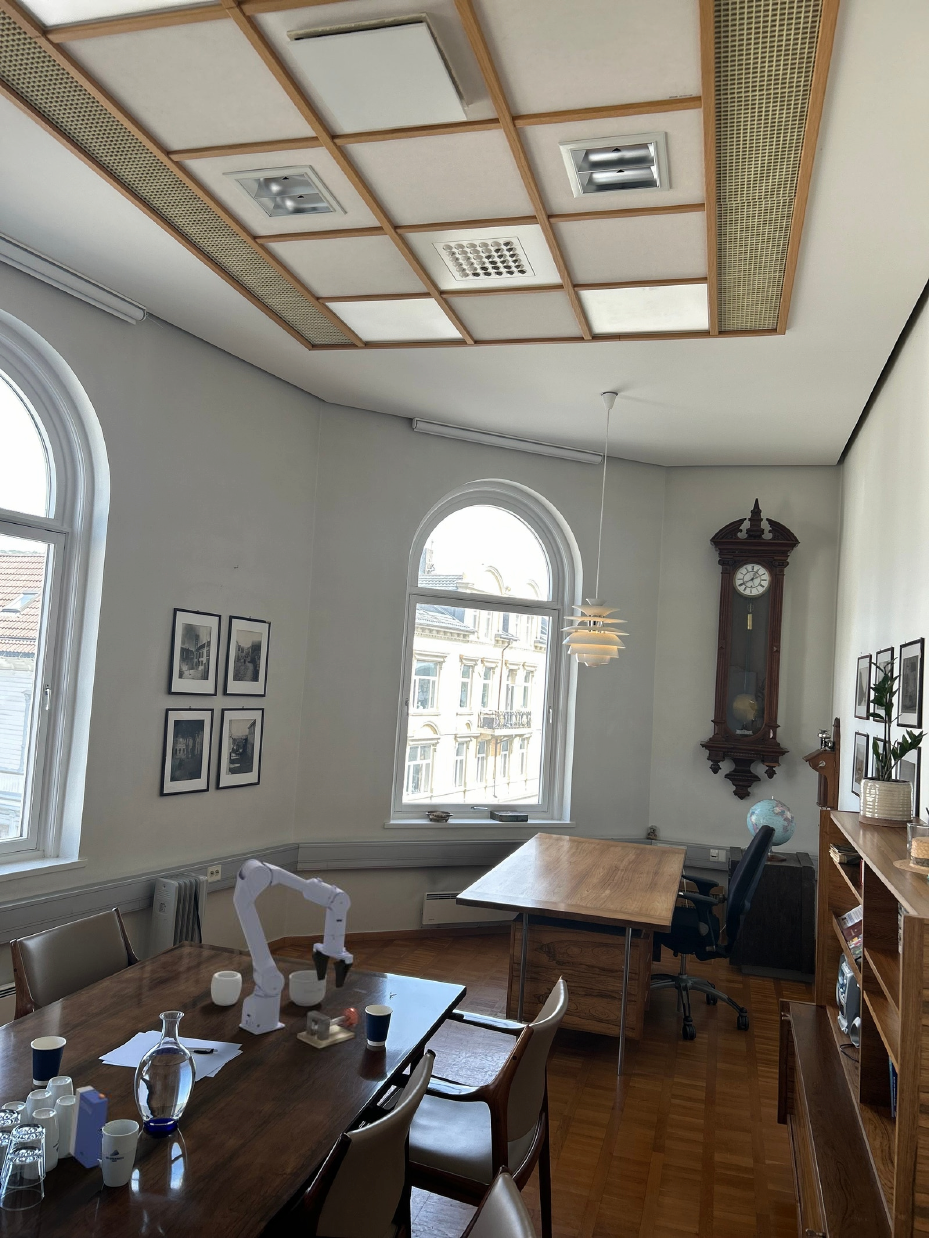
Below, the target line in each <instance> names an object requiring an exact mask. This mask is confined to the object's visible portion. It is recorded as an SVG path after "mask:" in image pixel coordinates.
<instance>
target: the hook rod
mask: <svg viewBox="0 0 929 1238" xmlns="http://www.w3.org/2000/svg"><path fill="white" fill-rule="evenodd" d="M359 1016H360V1015H359V1012H358V1011H357V1009H356V1008H355V1007H349V1008H346V1009H344V1010H343V1011H342V1014H341V1016H339V1017H336V1018H332V1019H330V1027H331V1026H334V1025H337V1026H338V1025H341V1024H343V1025H344V1027H346V1028H351V1027H355V1026H356V1025H358V1024H359V1021H360V1020H359V1019H360V1017H359ZM316 1023H317V1022H315V1021H314V1022H312V1031H317V1029H318V1024H316Z"/></svg>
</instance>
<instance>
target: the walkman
mask: <svg viewBox="0 0 929 1238" xmlns="http://www.w3.org/2000/svg"><path fill="white" fill-rule="evenodd" d="M108 1102H109V1099H108V1098H106V1095H104V1094H103V1093H100V1092H99V1091H98V1090H96V1088H94V1087H92V1086H91V1085H87V1086H82V1087H79V1088H76V1089H75V1098H74V1107H73V1113H72V1114H73V1115H72V1122H71V1123H72V1124H71V1133H70V1141H69V1142H70V1143H69V1151H68V1152H69V1153H70V1154H71V1156H72V1157H74V1158H75V1159H76V1160H77V1161H78V1162H80V1164H82V1166H84V1167H85V1168H86V1169H90V1168H93V1167H96V1166H99V1165H101V1164H100V1162H99V1160H97V1159H100V1158H101V1143H102V1138H103V1134H102V1131H98V1130H100V1128H102V1127H103V1126H105V1127H106V1124H107V1121H106V1120H107V1114H108V1113H107V1112H108V1111H107V1110H108V1105H109V1104H108Z"/></svg>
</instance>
